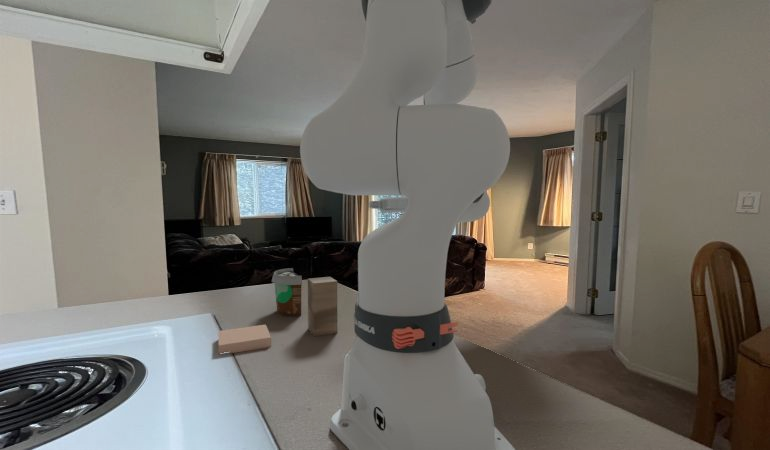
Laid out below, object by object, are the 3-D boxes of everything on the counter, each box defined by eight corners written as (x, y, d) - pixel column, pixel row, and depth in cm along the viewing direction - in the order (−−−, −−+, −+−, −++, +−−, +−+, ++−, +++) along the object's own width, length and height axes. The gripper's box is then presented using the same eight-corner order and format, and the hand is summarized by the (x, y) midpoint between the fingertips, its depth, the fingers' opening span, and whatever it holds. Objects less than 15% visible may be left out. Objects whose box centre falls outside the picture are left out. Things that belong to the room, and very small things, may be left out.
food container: (269, 306, 92) (268, 269, 92) (293, 304, 95) (292, 267, 94) (275, 320, 81) (275, 278, 81) (302, 317, 84) (302, 275, 83)
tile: (271, 337, 66) (218, 345, 62) (271, 348, 66) (218, 357, 63) (265, 324, 74) (218, 331, 70) (265, 334, 74) (218, 341, 70)
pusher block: (337, 332, 74) (337, 281, 73) (314, 336, 72) (313, 283, 71) (330, 325, 78) (330, 276, 78) (308, 328, 76) (307, 278, 75)
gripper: (408, 193, 94) (361, 192, 88) (455, 189, 76) (399, 187, 70) (408, 217, 95) (361, 217, 89) (455, 218, 76) (399, 219, 70)
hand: (378, 204), depth 79 cm, fingers open, 8 cm apart
